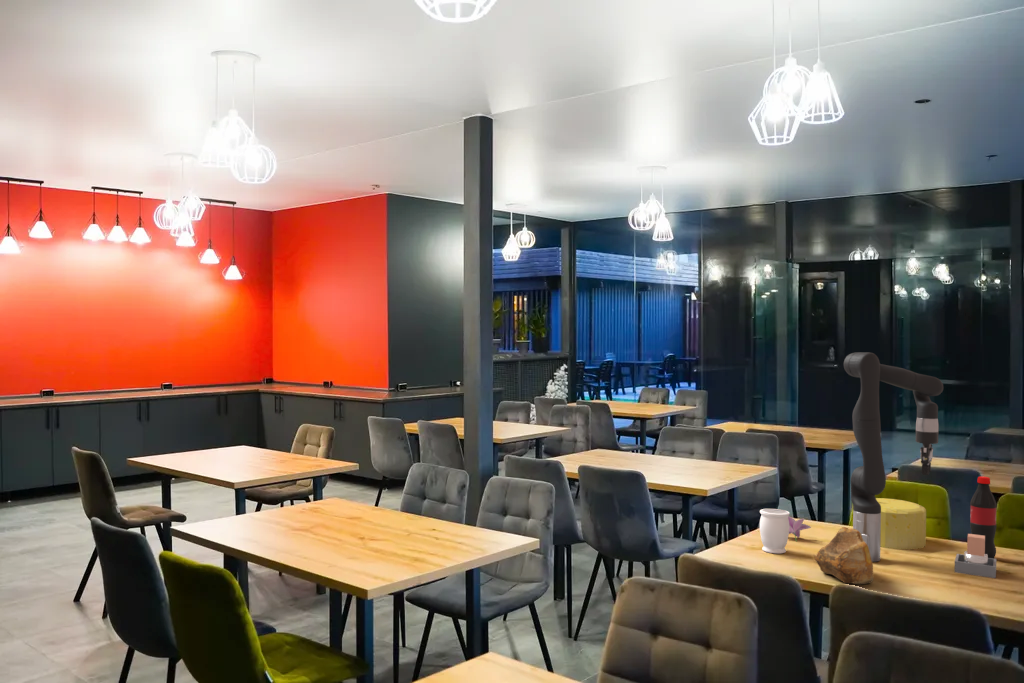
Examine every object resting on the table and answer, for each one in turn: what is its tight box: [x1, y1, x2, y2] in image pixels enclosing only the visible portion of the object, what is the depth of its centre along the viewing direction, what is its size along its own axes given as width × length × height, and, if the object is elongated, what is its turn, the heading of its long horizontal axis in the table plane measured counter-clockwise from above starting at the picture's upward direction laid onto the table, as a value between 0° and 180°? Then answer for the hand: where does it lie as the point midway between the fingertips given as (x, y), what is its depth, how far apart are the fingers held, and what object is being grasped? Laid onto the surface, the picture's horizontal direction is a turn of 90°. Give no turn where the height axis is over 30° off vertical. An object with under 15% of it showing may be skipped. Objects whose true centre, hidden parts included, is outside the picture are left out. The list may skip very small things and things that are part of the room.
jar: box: [759, 508, 790, 555], centre depth 300 cm, size 11×10×15 cm
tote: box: [954, 553, 997, 579], centre depth 274 cm, size 12×12×4 cm
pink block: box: [966, 533, 985, 556], centre depth 274 cm, size 5×5×6 cm
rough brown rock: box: [814, 526, 874, 585], centre depth 268 cm, size 23×17×15 cm
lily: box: [788, 515, 812, 542], centre depth 318 cm, size 12×12×10 cm
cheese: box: [875, 497, 927, 550], centre depth 318 cm, size 26×26×15 cm
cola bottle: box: [969, 475, 997, 559], centre depth 294 cm, size 8×8×30 cm
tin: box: [963, 550, 988, 565], centre depth 274 cm, size 7×7×6 cm
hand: (926, 473), depth 299 cm, fingers open, 8 cm apart
